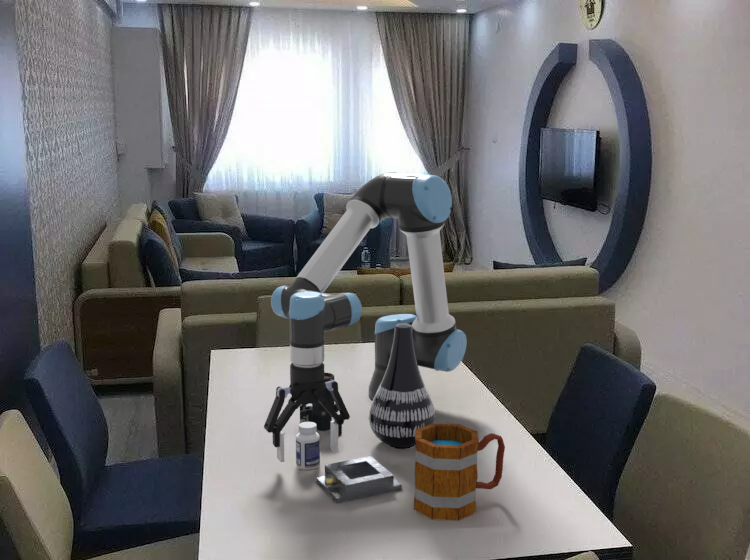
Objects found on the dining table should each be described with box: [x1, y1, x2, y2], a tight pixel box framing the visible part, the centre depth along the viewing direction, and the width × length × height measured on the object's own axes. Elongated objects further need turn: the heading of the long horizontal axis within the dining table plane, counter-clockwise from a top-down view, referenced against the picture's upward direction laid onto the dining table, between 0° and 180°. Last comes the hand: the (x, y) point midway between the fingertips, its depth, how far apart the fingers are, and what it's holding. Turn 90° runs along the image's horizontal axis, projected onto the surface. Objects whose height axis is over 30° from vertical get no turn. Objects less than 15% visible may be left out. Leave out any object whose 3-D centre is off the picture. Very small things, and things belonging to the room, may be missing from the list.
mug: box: [413, 422, 506, 522], centre depth 161 cm, size 20×14×15 cm
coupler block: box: [315, 455, 403, 504], centre depth 169 cm, size 15×11×4 cm
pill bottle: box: [295, 422, 321, 471], centre depth 178 cm, size 5×5×10 cm
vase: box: [368, 324, 436, 450], centre depth 189 cm, size 16×16×30 cm
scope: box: [299, 372, 339, 432], centre depth 200 cm, size 8×14×10 cm
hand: (307, 454), depth 179 cm, fingers open, 12 cm apart
